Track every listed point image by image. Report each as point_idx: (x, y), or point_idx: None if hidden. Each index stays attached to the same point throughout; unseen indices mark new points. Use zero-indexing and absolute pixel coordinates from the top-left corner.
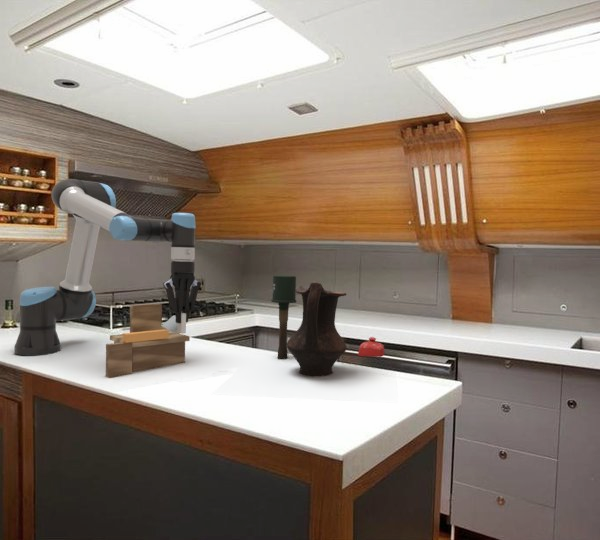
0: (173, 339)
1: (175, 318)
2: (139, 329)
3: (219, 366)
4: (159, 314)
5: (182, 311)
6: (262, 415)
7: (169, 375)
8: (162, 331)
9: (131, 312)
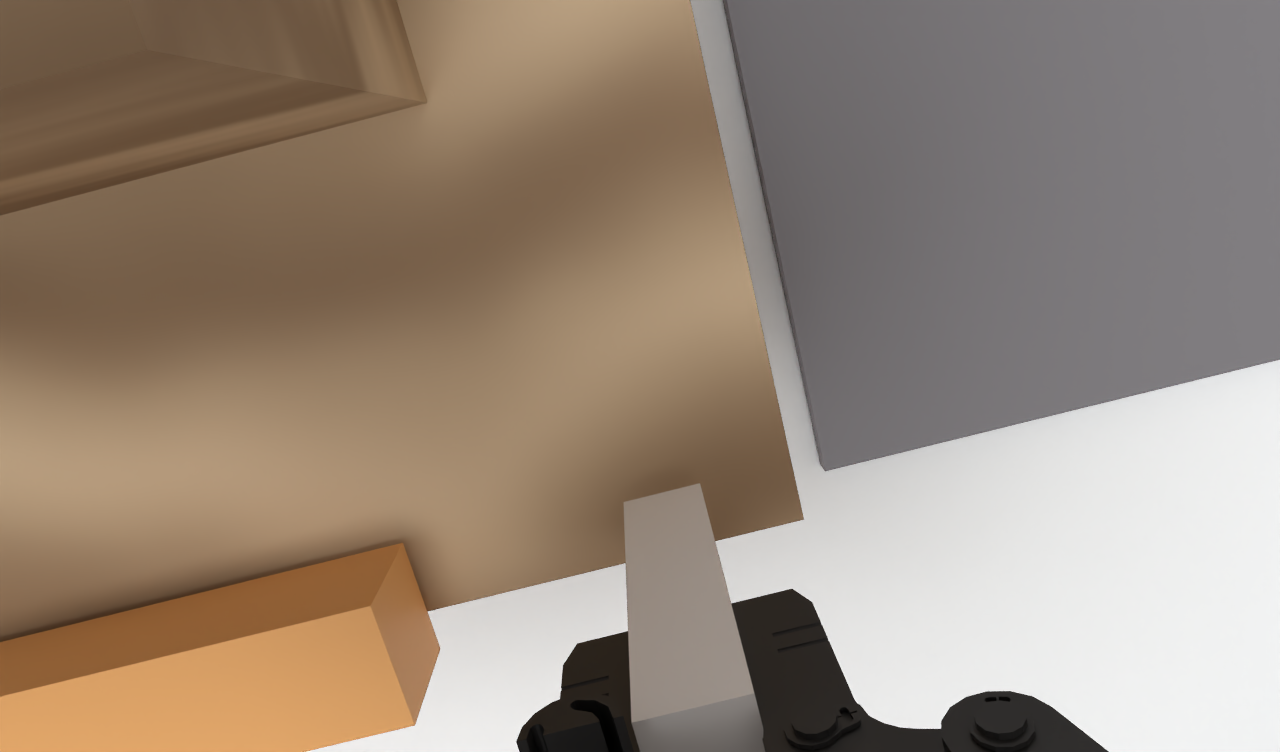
0: (531, 577)
1: None
2: None
3: (989, 557)
4: (234, 99)
5: (768, 732)
6: None
7: (457, 707)
8: (303, 747)
9: None
